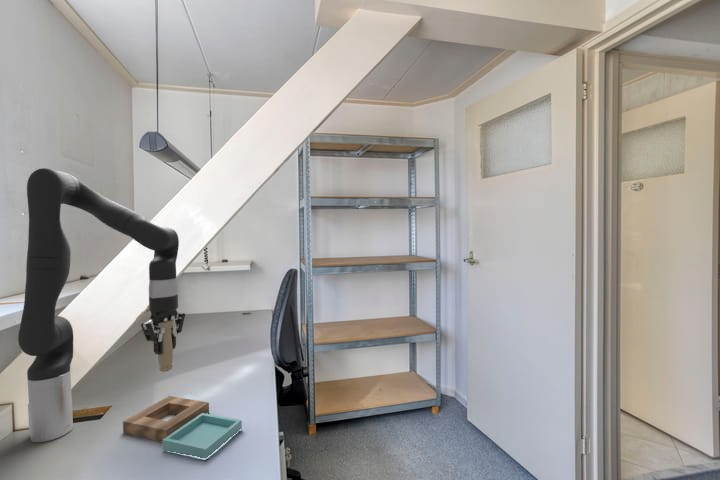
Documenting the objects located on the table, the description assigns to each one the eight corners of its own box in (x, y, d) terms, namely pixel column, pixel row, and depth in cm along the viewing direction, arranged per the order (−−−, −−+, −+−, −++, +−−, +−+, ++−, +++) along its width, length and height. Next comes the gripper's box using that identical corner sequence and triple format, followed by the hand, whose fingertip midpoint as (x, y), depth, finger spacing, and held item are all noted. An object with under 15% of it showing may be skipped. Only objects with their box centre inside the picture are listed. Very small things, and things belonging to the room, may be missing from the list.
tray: (162, 450, 92) (162, 439, 92) (202, 422, 106) (202, 412, 106) (206, 461, 88) (205, 449, 88) (241, 430, 101) (241, 420, 101)
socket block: (123, 433, 101) (122, 421, 101) (169, 406, 116) (169, 395, 116) (166, 443, 96) (166, 430, 96) (209, 413, 111) (208, 402, 111)
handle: (176, 365, 109) (175, 317, 109) (173, 372, 103) (172, 322, 103) (158, 367, 108) (157, 318, 107) (154, 375, 102) (153, 323, 101)
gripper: (173, 289, 113) (174, 342, 113) (131, 298, 99) (133, 358, 100) (192, 290, 110) (193, 345, 111) (152, 299, 97) (154, 361, 97)
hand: (165, 351), depth 105 cm, fingers closed on handle, 4 cm apart
